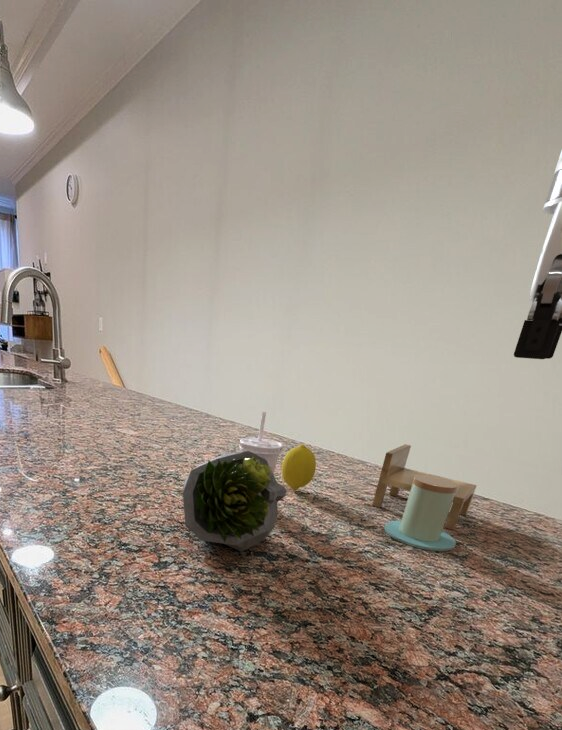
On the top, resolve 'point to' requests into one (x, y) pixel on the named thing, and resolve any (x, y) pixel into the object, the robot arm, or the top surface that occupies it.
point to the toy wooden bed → (403, 478)
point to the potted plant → (232, 500)
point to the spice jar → (427, 507)
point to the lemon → (298, 467)
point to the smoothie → (263, 446)
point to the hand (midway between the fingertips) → (533, 358)
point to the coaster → (441, 545)
